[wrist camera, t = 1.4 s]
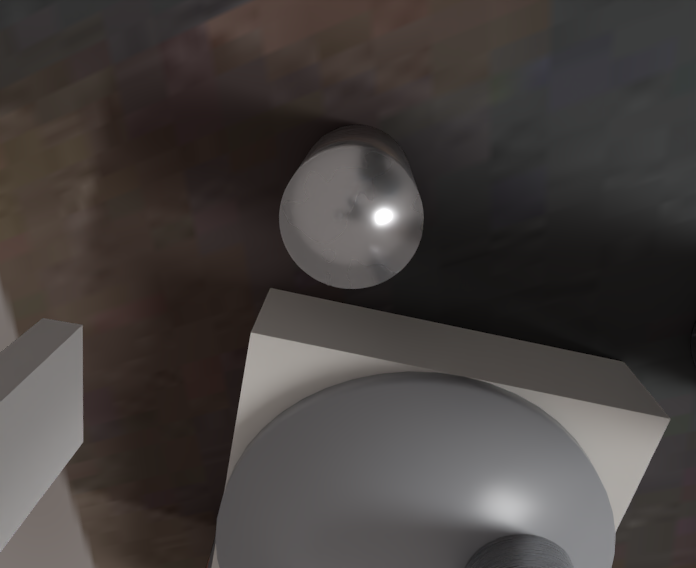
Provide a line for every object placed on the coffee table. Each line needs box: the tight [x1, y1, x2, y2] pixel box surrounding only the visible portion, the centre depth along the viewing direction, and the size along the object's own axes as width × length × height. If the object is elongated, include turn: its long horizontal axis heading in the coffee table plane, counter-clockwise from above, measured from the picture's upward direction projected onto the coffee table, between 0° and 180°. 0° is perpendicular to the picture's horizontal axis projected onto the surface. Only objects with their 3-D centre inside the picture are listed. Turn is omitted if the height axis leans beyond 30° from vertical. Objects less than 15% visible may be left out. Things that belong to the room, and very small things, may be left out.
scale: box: [206, 288, 670, 568], centre depth 30 cm, size 20×18×6 cm
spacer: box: [279, 125, 424, 289], centre depth 24 cm, size 5×5×7 cm
